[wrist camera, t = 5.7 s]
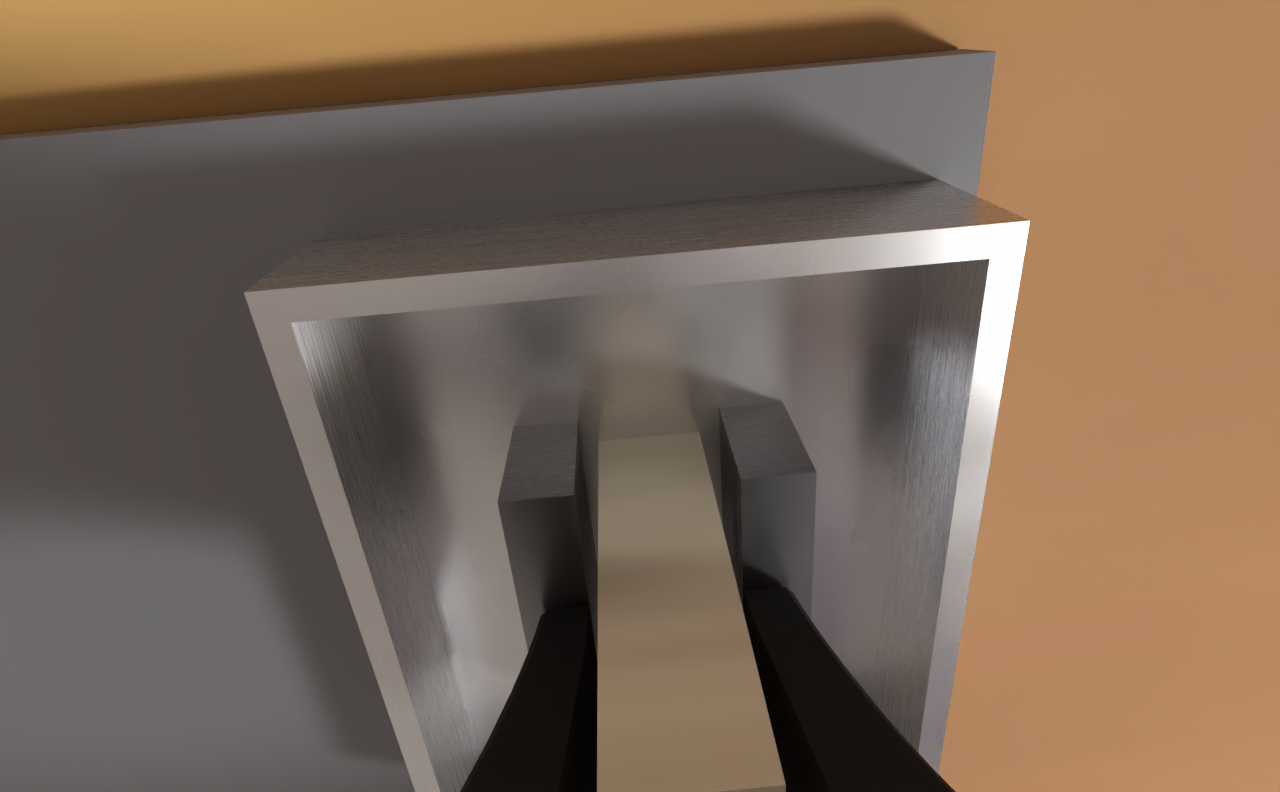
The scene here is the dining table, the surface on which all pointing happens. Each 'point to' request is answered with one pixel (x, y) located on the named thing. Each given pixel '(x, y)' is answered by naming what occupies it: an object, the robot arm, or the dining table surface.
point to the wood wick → (673, 632)
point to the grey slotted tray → (649, 424)
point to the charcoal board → (249, 401)
